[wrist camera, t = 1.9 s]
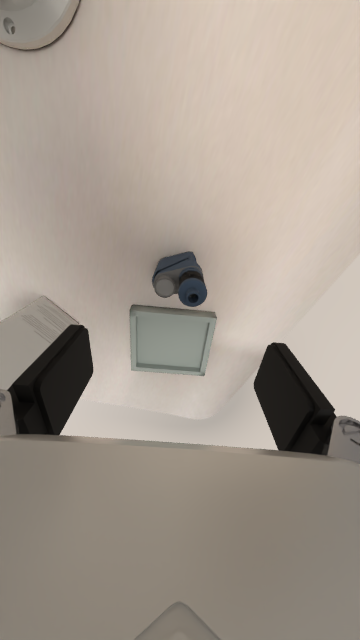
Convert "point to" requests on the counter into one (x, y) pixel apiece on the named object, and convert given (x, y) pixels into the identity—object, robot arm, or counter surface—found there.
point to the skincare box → (28, 337)
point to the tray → (170, 340)
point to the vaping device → (180, 279)
